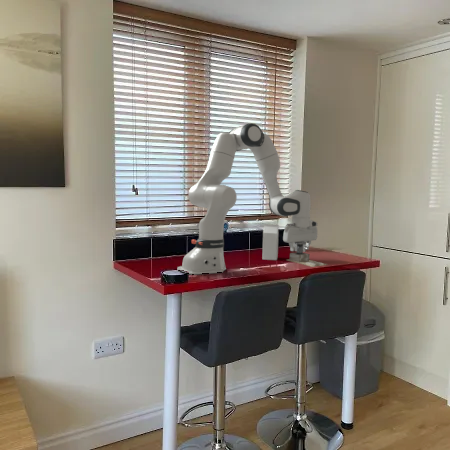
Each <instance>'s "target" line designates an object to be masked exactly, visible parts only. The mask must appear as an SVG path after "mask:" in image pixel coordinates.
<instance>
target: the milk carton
mask: <svg viewBox="0 0 450 450" xmlns="http://www.w3.org/2000/svg"><path fill="white" fill-rule="evenodd" d="M278 254H279V224H273V223H272V224H271V223H270V224H269V223H264V225H263V231H262V257H261V258H262V260H265V261H266V260H267V261H277V260H278V256H279V255H278Z"/></svg>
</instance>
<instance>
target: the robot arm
mask: <svg viewBox="0 0 450 450" xmlns="http://www.w3.org/2000/svg"><path fill="white" fill-rule="evenodd" d="M243 150H250V151H251V153H252V154H253V157H254V160H255V163H256V164H257V168H258V169H259V172H260V174H261V176H262V178H263V181H264V184H265V187H266V191H267V193H268V200H269V201H268V202H269V203H268V208H269V210H270V212H271V213H272V214H273V215H275V216H281V217H289V216H290V217H291V223H287V224H286V225H284V231H283V236H282V240H283V242H284V243H288V246H289V248H290V247H291V249H289V250H291V251H290V252H296V251H295V247H294V246H293V244H294V242H302V241H306V246H305V248H304V249H305V250H306V251H307V250H310V245H312V241H313V242H314V241H317V239H318V227H317V226H318V221H315V220H312V219H311V215H310V214H311V209H312V208H311V206H312V205H311V203H312V201H311V200H312V199H311V195H310V193H309V191H306V190H300V189H295V190H294V191H293V192H292V193H289V194H287V195H285V196H284V195H283V193H282V191H281V188H280V185H279V182H278V178H277V177H278V172H279V171H280V168H281V160H280V156H279V153H278V151H277V148H276V146H275V144H274V142H273V141H272V139H271V137H270V135H268V134H266V133H264V132H263V131H262V129H261V127H260V126H259V125H258V124H255V123H251V122H249V123H245V124H243V125H238V126H237V127H235V128H234V129H233V128H232V129H231V130H230V131H229V132H225V131H224V132H220V133H219V134H218V135H217V136H216V138H215V140H214V142H213V145H212V147H211V151H210V154H209V159H208V161H207V165H206V168H205V170H204V173H203V174H202V176H201V177H200V178H199V180H198V181H197V182H196V183H195V184H194V185H192V186H191V188H189V190H188V200H189V202H190V204H192V206H193V205H194V206H196V207H199V208H202V209H203V208H204V209H207V211H206V214H205V216H204V217H203V218H201V219H200V221H199V225H198V227H199V228H198V231H199V232H198V238H197V240H196V239H191V244H193V245H195V247H193V249H191V250H190V251H189V252H187V254H185V255H184V257H183V259H182V265H180V266H177V271H178V270H184V271H188V272H189V274H188V275H192V274H194V275H203V274H202V273H209V274H218V273H217V272H222V273H224V271H226V270H227V268H226V262H225V257H224V255H225V254H224V249H225V238H224V226H225V220H226V217H227V214H228V212H229V211H230V210H231V209H232V208H233V207H235V205H236V203H237V199H238V197H237V192H236V190H235V189H234V188H233V187H231V186H229V185H226V184H222V183H223V181H224V180H225V179H227V178H228V177H229V176H230V175H231V173H232V168H233V163H234V160H235V155H236V153H237V152H238V151H239V152H240V151H243Z"/></svg>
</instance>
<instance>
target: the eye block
mask: <svg viewBox="0 0 450 450" xmlns="http://www.w3.org/2000/svg"><path fill="white" fill-rule="evenodd" d="M286 261H288V262H291V263H295V264H299V265H304V266H308V267H312V268H313V267H321V266H328V265H329V264H328V263H323V262H320V261H315V260H311V259H310V253H306V252H303V254H301V255H299V254H297V251H294V252H289V259H286Z"/></svg>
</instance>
